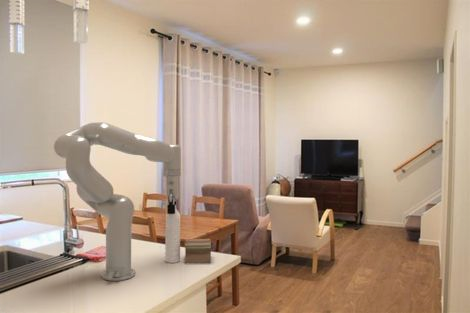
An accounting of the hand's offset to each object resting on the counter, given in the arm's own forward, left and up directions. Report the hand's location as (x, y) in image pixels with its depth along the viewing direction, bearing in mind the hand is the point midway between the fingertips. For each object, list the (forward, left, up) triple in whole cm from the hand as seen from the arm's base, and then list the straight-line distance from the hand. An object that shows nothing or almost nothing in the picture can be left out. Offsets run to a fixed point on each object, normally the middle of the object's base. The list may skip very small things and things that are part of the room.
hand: (171, 211), depth 168 cm
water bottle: (0, 0, -22) cm, 22 cm away
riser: (+2, -12, -22) cm, 25 cm away
